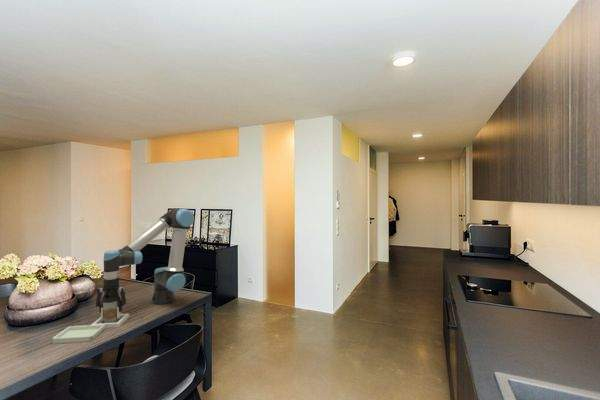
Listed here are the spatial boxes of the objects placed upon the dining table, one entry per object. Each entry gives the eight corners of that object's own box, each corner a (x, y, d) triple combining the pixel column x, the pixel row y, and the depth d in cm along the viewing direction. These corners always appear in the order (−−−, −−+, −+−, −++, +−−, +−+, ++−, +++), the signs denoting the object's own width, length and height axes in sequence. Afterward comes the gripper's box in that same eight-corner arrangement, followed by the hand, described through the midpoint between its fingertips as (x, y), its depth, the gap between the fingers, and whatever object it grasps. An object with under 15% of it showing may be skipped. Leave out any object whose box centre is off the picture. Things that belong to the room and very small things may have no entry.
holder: (129, 316, 172) (129, 313, 172) (118, 327, 158) (118, 323, 158) (103, 318, 169) (103, 314, 169) (90, 328, 156) (90, 325, 156)
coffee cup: (100, 326, 158) (101, 299, 158) (103, 321, 165) (103, 295, 165) (118, 324, 162) (119, 297, 162) (120, 318, 169) (120, 293, 169)
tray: (105, 328, 156) (105, 324, 156) (91, 341, 142) (91, 336, 142) (68, 330, 153) (68, 326, 153) (50, 343, 139) (50, 339, 139)
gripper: (133, 275, 169) (132, 314, 169) (95, 276, 166) (94, 316, 166) (128, 279, 162) (127, 319, 162) (87, 280, 158) (87, 321, 158)
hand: (110, 317), depth 164 cm, fingers closed on coffee cup, 7 cm apart
